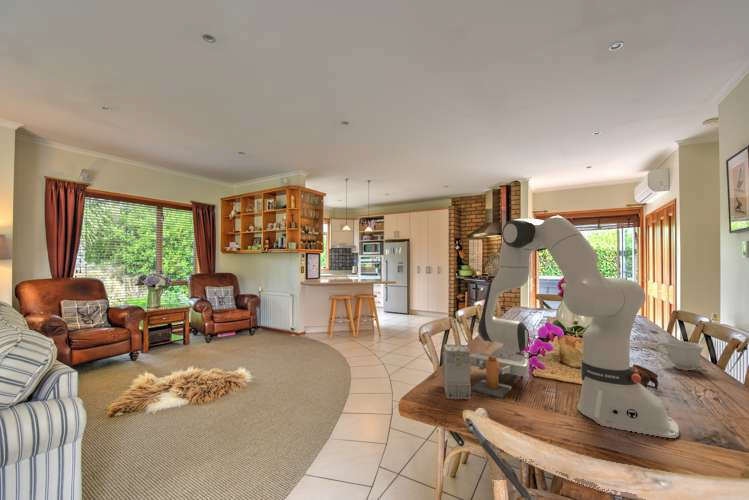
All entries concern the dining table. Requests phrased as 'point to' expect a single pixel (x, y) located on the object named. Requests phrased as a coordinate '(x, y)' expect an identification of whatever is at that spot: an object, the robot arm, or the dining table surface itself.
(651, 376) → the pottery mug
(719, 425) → the dining table surface
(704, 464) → the dining table surface
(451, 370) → the circuit breaker
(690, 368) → the teacup
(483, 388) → the tag pad
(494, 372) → the lockout cap
